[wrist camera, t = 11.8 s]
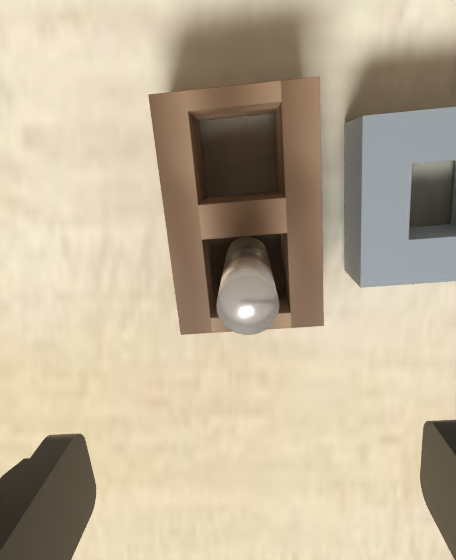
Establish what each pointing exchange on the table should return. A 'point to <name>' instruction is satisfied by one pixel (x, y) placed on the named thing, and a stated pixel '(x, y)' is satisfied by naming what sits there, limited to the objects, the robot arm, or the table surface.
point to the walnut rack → (242, 197)
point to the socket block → (396, 198)
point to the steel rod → (247, 288)
